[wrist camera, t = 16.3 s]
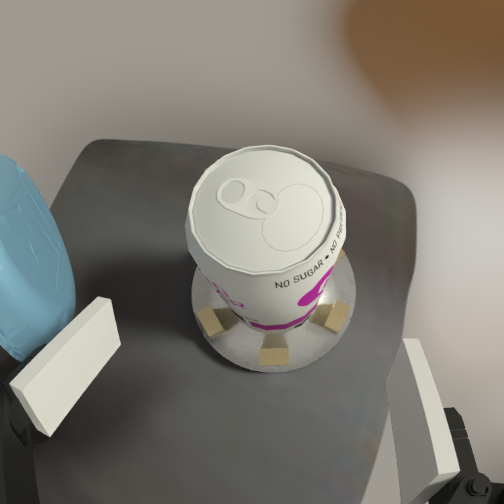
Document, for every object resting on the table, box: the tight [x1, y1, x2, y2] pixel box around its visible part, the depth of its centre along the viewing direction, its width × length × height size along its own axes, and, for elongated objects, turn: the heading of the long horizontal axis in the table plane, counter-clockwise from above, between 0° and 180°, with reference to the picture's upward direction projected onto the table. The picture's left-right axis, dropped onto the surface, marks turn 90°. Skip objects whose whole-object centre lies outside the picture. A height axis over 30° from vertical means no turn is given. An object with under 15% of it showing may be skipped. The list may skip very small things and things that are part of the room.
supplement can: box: [185, 145, 346, 334], centre depth 21 cm, size 8×8×15 cm
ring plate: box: [192, 248, 356, 373], centre depth 28 cm, size 15×15×3 cm
